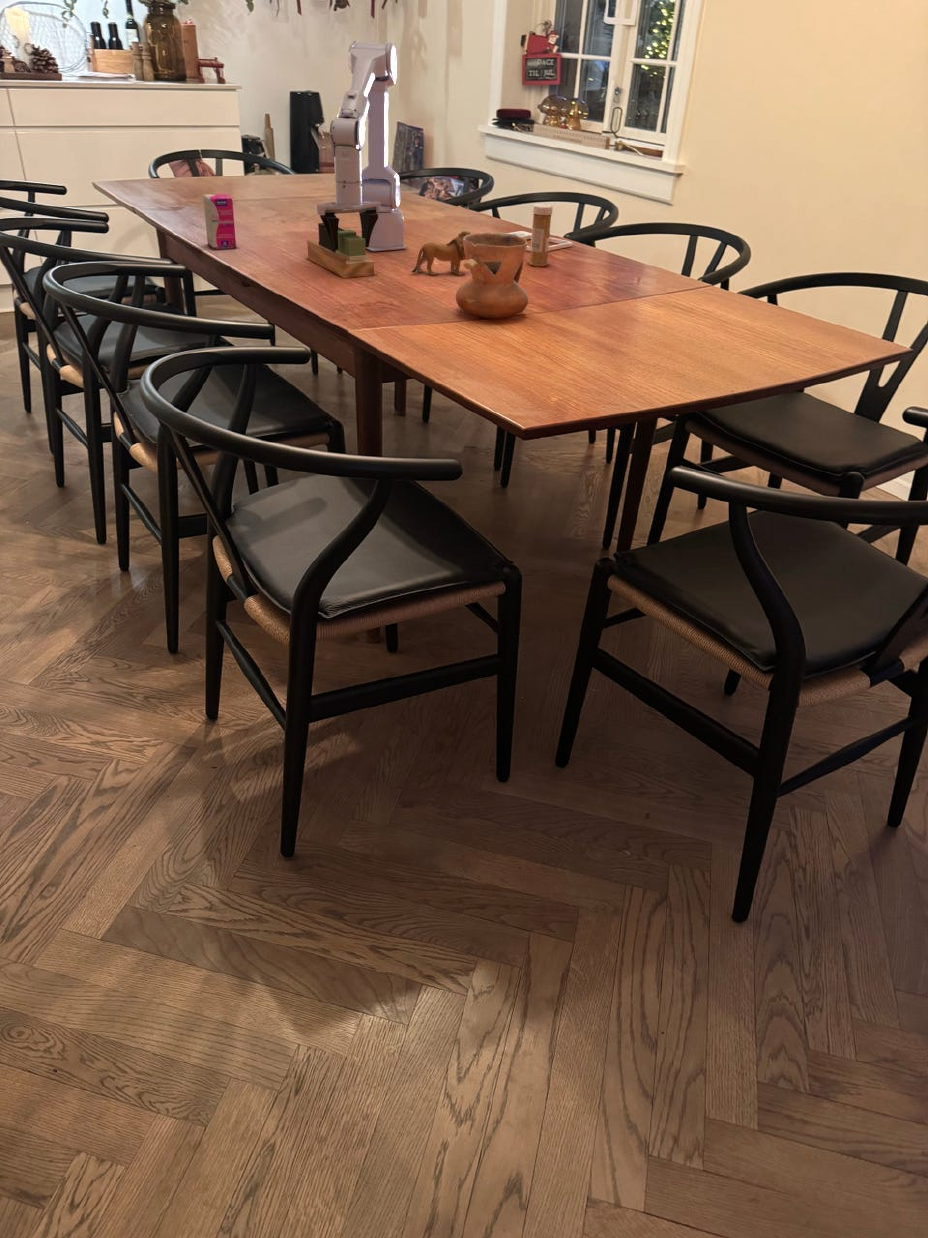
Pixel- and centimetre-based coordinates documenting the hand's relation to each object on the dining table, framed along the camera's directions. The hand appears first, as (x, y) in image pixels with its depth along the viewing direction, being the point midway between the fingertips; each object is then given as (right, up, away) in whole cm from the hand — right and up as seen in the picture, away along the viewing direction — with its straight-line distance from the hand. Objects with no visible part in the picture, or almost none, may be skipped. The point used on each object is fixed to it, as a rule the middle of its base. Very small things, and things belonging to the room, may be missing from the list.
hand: (350, 247), depth 200 cm
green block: (0, -2, +1) cm, 2 cm away
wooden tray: (-3, -2, +6) cm, 7 cm away
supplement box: (-34, +7, +18) cm, 39 cm away
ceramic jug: (+31, -22, -21) cm, 44 cm away
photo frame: (+43, +16, +36) cm, 58 cm away
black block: (-5, +3, +8) cm, 10 cm away
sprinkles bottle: (+44, +2, +16) cm, 47 cm away
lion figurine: (+21, -4, +5) cm, 22 cm away
